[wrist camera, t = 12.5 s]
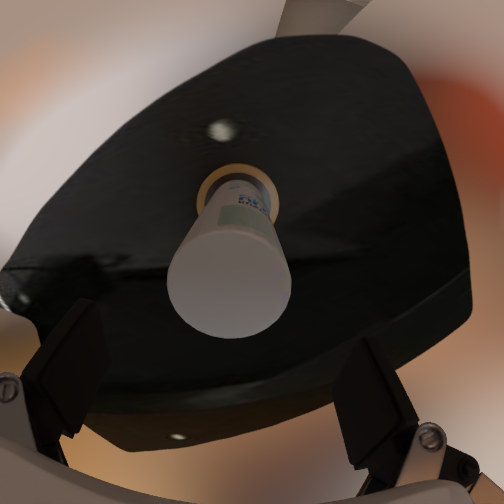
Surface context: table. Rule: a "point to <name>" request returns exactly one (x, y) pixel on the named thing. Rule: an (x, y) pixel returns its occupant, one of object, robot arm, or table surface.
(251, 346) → the table surface
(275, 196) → the stand
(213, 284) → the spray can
